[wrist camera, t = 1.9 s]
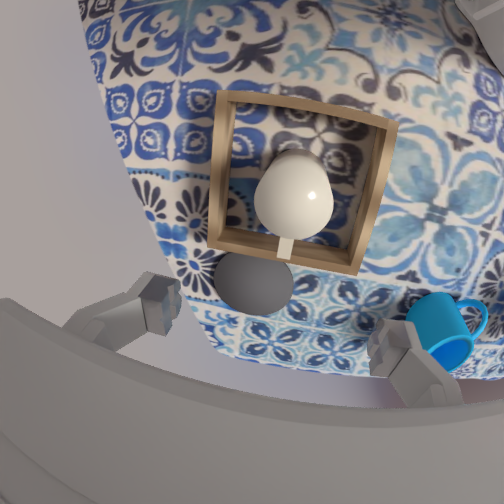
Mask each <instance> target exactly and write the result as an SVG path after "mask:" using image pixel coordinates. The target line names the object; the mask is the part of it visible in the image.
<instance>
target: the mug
mask: <svg viewBox="0 0 504 504" xmlns="http://www.w3.org/2000/svg"><path fill="white" fill-rule="evenodd" d="M466 306H471V307H476V308H478V309H479V310H480V311H481V312H482V321H481V323H480V325H479V327H478V328H477V329H476V330H475V331H474V332H473V333H472V334H470V332H469V330H468V327H467V325H466V323H465V321H464V319H463V317H462V315H461V313H460V311H459V308H462V307H466ZM487 320H488V311H487V308H486V306H485V305H484V304H483V303H482V302H481V301H478V300H475V299H466V300H461V301H458V302H456V303H455V302H454V300H453V298H452V297H451V296H450V295H449V294H447V293H443V292H435V293H431V294H428V295H426V296H424V297H422V298H421V299H419V300H418V301H416V303H415V304H414V305H413V306H412V307H411V308H410V310H409V311H408V313H407V315H406V320H405V321H410V322H413V323H414V325H415V328H416V331H417V334H418V337H419V340H420V343H421V346H422V349H423V350H426V351H427V352H428V353H429V354H430V355H431V356H432V357H433V358H434V359H435V360H436V361H437V362H438V363H439V364H440V365H441V366H442V367H443V368H444V369H445V370H446V371H447V372H448V373H450V372H452V371H454V370H455V369H457V368H458V367H460V366H461V365H462V364H463V363H465V361H466V360H467V359H468V358H469V357H470V355H471V353H472V351H473V349H474V341H473V340H475V339H476V338H477V337H478V336H479V335H480V334H481V332H482V331H483V330H484V328H485V326H486V324H487Z"/></svg>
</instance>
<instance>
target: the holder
mask: <svg viewBox="0 0 504 504" xmlns="http://www.w3.org/2000/svg"><path fill="white" fill-rule="evenodd" d="M237 102H246V103H256V104H265V105H273V106H281V107H288V108H294V109H300V110H306V111H312V112H317V113H322V114H327V115H332V116H336V117H341V118H345V119H349V120H354V121H358V122H361V123H365V124H369V125H373V126H376V127H377V132H376V137H375V142H374V147H373V152H372V157H371V161H370V166H369V170H368V174H367V179H366V183H365V187H364V191H363V195H362V199H361V203H360V206H359V210H358V214H357V217H356V221H355V224H354V228H353V231H352V235H351V238H350V242H349V245H348V248H347V250H346V249H341V248H336V247H331V246H326V245H321V244H316V243H311V242H306V241H301V240H295V239H294V242H293V247H292V252H291V257H290V260H287V259H282V258H277V252H278V247H279V241H280V236H274V235H269V234H263V233H258V232H253V231H247V230H241V229H236V228H230V227H226V216H227V202H228V190H229V177H230V166H231V154H232V144H233V133H234V123H235V113H236V104H237ZM398 127H399V122H397V121H394V120H391V119H388V118H384V117H381V116H377V115H374V114H370V113H367V112H363V111H359V110H355V109H351V108H347V107H342V106H338V105H333V104H329V103H324V102H319V101H313V100H308V99H302V98H296V97H289V96H282V95H274V94H266V93H257V92H246V91H232V90H217V96H216V107H215V118H214V130H213V143H212V157H211V173H210V191H209V211H208V238H207V247H208V248H213V249H218V250H223V251H228V252H234V253H239V254H244V255H249V256H254V257H260V258H265V259H270V260H275V261H280V262H286V263H291V264H296V265H301V266H307V267H312V268H317V269H322V270H328V271H333V272H338V273H343V274H349V275H354V276H357V274H358V271H359V268H360V265H361V263H362V260H363V257H364V254H365V251H366V248H367V245H368V242H369V239H370V236H371V233H372V230H373V226H374V223H375V220H376V217H377V213H378V210H379V206H380V203H381V199H382V196H383V192H384V188H385V185H386V181H387V177H388V173H389V169H390V164H391V160H392V156H393V151H394V147H395V142H396V137H397V132H398Z"/></svg>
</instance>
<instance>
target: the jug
mask: <svg viewBox="0 0 504 504" xmlns="http://www.w3.org/2000/svg"><path fill="white" fill-rule="evenodd" d="M254 206H255V211H256V214H257V216H258V218H259V220H260V221H261V223H262V224H263V225H264V226H265V227H266V228H267V229H268V230H269V231H270V232H272V233H273V234H275V235H277V236H280V241H279V247H278V252H277V258H282V259H287V260H290V257H291V252H292V247H293V242H294V239H304V238H308V237H311V236H313V235H315V234H316V233H318V232H319V231H321V230H322V229H323V228H324V227H325V226H326V224H327V223H328V221H329V219H330V217H331V215H332V212H333V195H332V191H331V187H330V184H329V180H328V176H327V173H326V169H325V167H324V165H323V163H322V161H321V160H320V159H319V158H318V157H317V156H316V155H315V154H313V153H311V152H309V151H307V150H303V149H290V150H286V151H284V152H282V153H280V154H279V155H278V156H277V157H276V158H275V159H274V160H273V162H272V163H271V165H270V166H269V168H268V169H267V171H266V173H265V174H264V176H263V177H262V179H261V181H260V182H259V184H258V186H257V188H256V191H255V196H254Z"/></svg>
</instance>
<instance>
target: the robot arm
mask: <svg viewBox="0 0 504 504" xmlns="http://www.w3.org/2000/svg"><path fill="white" fill-rule="evenodd" d="M455 3H456V5H457V7H458V8H459V9H460V11H461V12H462V13H463V14H464V15H465V17H466V18H467V19H468V20H469V21H470V22H471V23H472V25H473V26H474V28H475V30H476V32H477V34H478V36H479V38H480V40H481V42H482V44H483V46H484V48H485V50H486V51H487V53H488V55H489V56H490V58H491V60H492V61H493V63H494V64H495V65H496V67H497V68H498V69H499V71H500V72H501V73H502V74H503V75H504V0H455ZM180 289H181V284H180V281H179V280H178V279H174V278H171V277H167V276H163V275H159V274H155V273H151V272H144V273H143V274H142V275H141V277H140V278H139V279H138V280H137V281H136V282H135V284H134V285H133V286H132V287H131V288H130V289H129V291H128V292H127V293H124V292H123V293H120V294H118V295H116V296H113V297H110V298H108V299H105V300H102V301H100V302H97V303H94V304H92V305H89V306H87V307H84V308H82V309H79V310H77V311H76V312H75V313H74V314H73V315H72V316H71V318H70V319H69V320H68V321H67V322H66V323H65V325H64V326H63V327H62V328H61V327H59V326H57V325H55V324H53V323H51V322H50V321H47V320H46V319H44V318H42V317H40V316H38V315H37V314H35V313H33V312H32V311H30V310H28V309H26V308H25V307H23V306H21V305H20V304H18V303H17V302H15V301H14V300H11V299H10V298H3V299H0V504H504V399H500V400H494V401H489V402H482V403H475V404H467V405H464V401H463V398H462V395H461V391H460V388H459V384H458V382H457V381H456V380H455V379H454V378H453V377H452V376H451V375H450V374H449V373H448V372H447V371H446V370H445V369H444V368H443V367H442V366H441V365H440V364H439V363H438V362H437V361H436V360H435V359H434V358H433V357H432V356H431V355H430V354H429V353H428V352H427V351H426V350H423V349H422V346H421V343H420V340H419V337H418V334H417V331H416V328H415V325H414V323H413V322H410V321H399V320H391V319H384V318H380V319H379V320H378V322H377V324H376V329H377V330H375V331H374V332H372V333H371V335H370V337H369V340H368V344H367V353H368V356H369V357H370V358H371V360H370V362H369V368H370V376H379V377H389V378H388V379H389V380H390V382H391V383H392V385H393V386H394V388H395V389H396V391H397V392H398V394H399V395H400V397H401V398H402V400H403V401H404V403H405V405H406V406H407V408H404V409H403V408H400V409H399V408H395V409H394V408H361V407H346V406H333V405H324V404H315V403H307V402H299V401H292V400H286V399H279V398H274V397H268V396H263V395H258V394H252V393H248V392H243V391H239V390H234V389H230V388H226V387H221V386H218V385H213V384H210V383H206V382H202V381H198V380H195V379H192V378H188V377H185V376H181V375H178V374H175V373H172V372H169V371H165V370H162V369H159V368H156V367H154V366H151V365H148V364H145V363H142V362H139V361H137V360H134V359H131V358H129V357H126V356H124V355H121V354H119V353H116V351H117V350H119V349H121V348H122V347H124V346H125V345H127V344H129V343H131V342H132V341H134V340H135V339H137V338H139V337H140V336H142V335H144V334H145V333H147V331H148V332H152V333H155V334H159V335H162V336H166V335H167V334H168V332H169V330H170V328H171V327H172V320H173V319H175V318H177V316H178V314H179V312H180V308H181V302H182V300H181V295H180V294H179V293H178V291H179V290H180Z"/></svg>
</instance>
